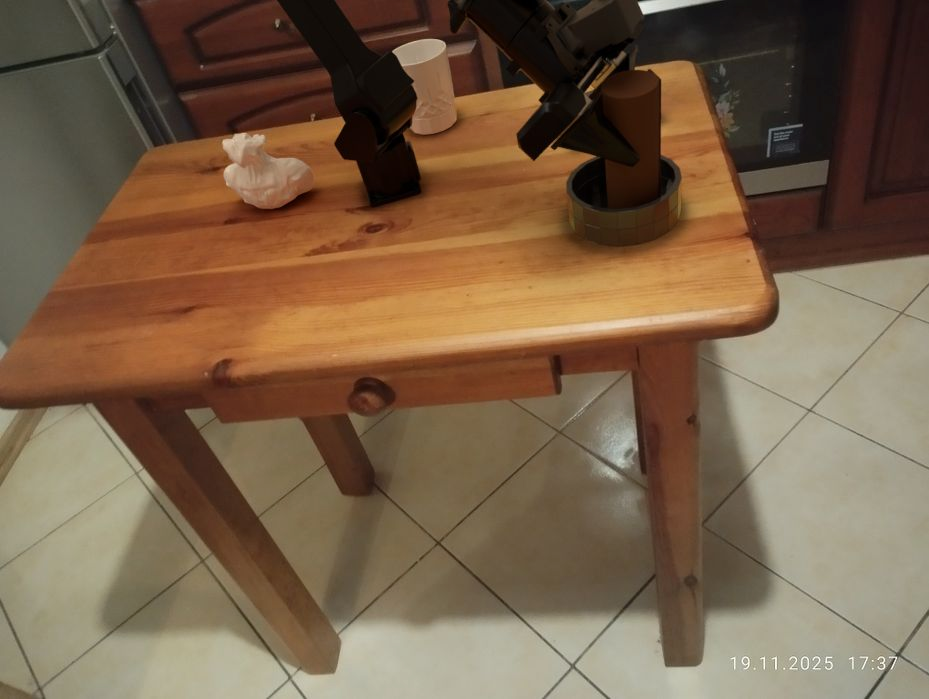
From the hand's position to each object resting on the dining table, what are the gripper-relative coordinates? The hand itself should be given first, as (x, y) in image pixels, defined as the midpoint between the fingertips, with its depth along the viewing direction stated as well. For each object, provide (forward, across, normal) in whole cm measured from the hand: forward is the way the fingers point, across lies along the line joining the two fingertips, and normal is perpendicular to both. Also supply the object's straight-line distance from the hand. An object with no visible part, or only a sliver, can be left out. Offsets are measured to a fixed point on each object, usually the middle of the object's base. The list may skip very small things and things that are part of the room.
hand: (646, 147), depth 64 cm
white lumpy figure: (-27, -6, +39) cm, 48 cm away
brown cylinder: (+4, 0, +6) cm, 7 cm away
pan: (+4, 0, +8) cm, 9 cm away
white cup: (-19, +16, +31) cm, 40 cm away
